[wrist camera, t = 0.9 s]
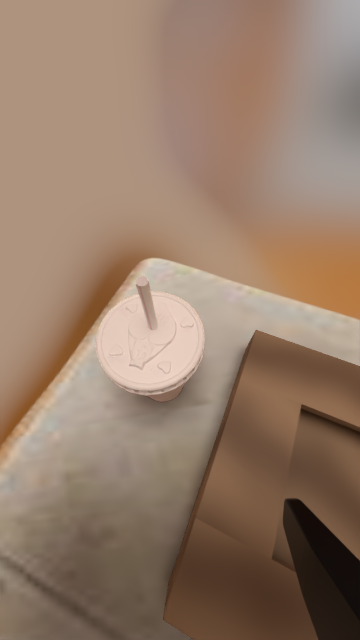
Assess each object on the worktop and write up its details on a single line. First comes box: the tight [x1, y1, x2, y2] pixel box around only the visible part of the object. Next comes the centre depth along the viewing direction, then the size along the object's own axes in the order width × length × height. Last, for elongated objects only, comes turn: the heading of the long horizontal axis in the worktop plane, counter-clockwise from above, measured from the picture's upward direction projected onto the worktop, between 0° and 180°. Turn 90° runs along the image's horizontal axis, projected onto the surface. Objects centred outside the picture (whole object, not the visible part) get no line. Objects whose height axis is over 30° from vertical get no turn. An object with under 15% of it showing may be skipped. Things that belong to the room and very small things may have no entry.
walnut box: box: [163, 330, 360, 640], centre depth 17 cm, size 18×18×4 cm
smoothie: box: [96, 276, 205, 402], centre depth 17 cm, size 6×6×14 cm
